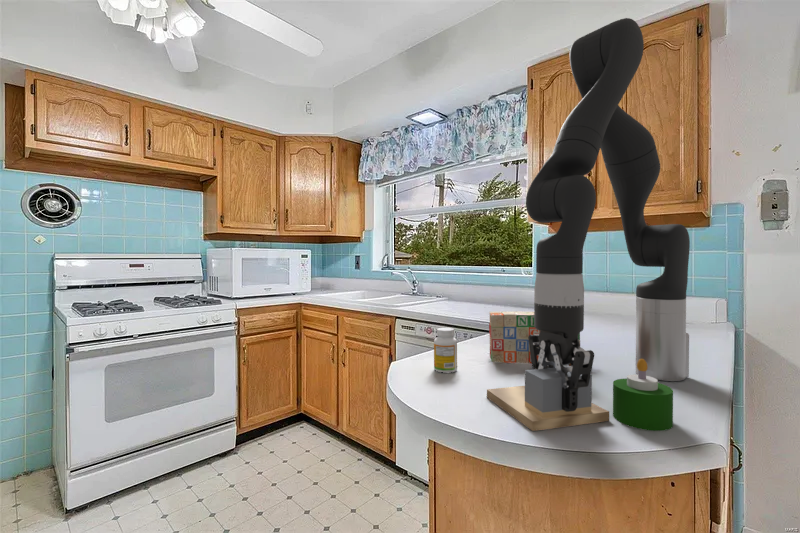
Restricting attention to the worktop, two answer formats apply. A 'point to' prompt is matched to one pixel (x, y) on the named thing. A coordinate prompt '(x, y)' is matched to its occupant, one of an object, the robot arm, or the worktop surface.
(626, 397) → the candle
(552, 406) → the block
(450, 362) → the supplement bottle
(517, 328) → the stack of blocks
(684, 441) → the worktop surface
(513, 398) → the board
